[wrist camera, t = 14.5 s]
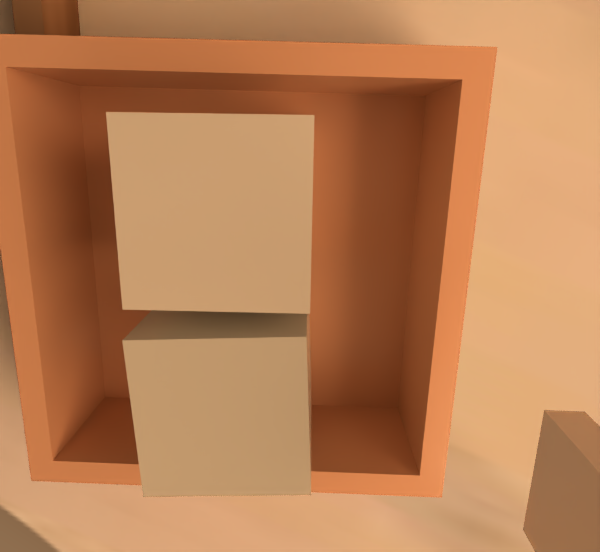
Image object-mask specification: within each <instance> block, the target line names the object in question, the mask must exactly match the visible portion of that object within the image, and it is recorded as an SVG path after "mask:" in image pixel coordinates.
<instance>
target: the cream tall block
mask: <svg viewBox="0 0 600 552" xmlns="http://www.w3.org/2000/svg"><path fill="white" fill-rule="evenodd" d="M106 119H107V131H108V143H109V155H110V167H111V179H112V191H113V202H114V214H115V226H116V238H117V250H118V262H119V274H120V286H121V298H122V310H164V311H209V312H254V313H299V314H310V295H311V249H312V204H313V158H314V115H282V114H213V113H144V112H106Z"/></svg>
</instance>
